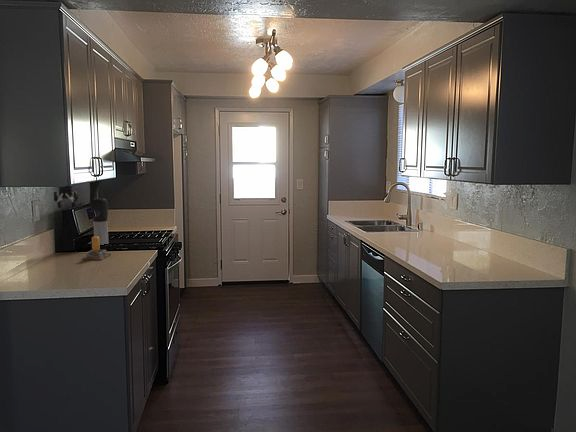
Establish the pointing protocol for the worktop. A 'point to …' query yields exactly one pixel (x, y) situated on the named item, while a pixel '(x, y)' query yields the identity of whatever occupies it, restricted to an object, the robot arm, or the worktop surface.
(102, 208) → the robot arm
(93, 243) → the connector
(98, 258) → the junction block
